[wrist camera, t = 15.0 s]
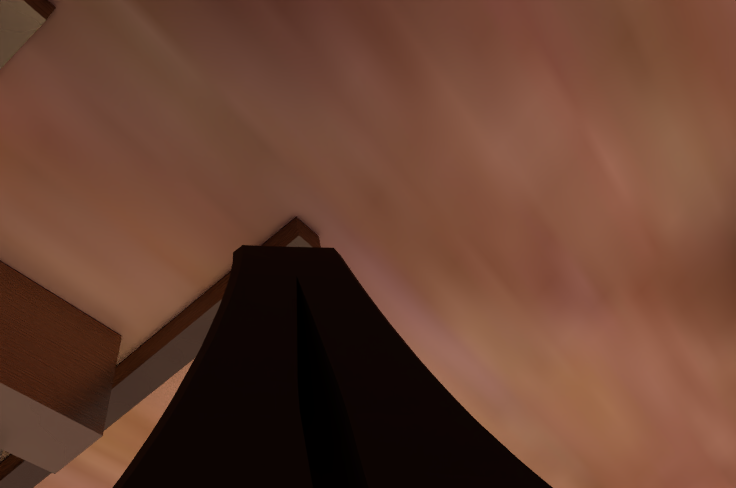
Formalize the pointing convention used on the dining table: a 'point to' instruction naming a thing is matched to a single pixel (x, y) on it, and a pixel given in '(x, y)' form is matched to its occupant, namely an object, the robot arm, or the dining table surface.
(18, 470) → the vise bed
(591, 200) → the dining table surface
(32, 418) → the block
